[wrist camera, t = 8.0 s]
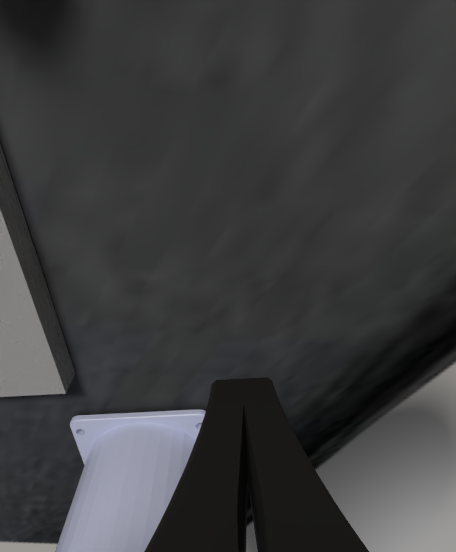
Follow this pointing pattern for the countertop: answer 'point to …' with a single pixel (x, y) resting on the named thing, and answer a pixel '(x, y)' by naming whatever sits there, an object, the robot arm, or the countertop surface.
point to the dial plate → (26, 309)
